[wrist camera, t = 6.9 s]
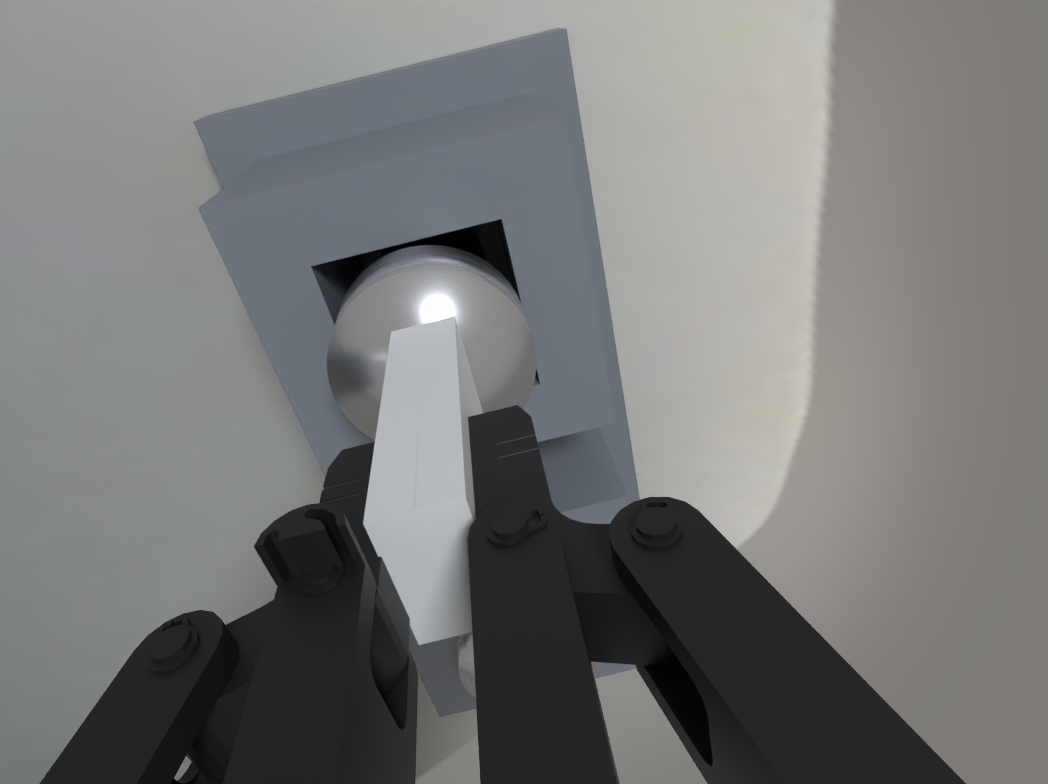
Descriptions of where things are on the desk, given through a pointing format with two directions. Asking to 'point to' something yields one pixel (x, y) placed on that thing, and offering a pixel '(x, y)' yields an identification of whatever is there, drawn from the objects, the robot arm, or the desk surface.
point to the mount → (423, 211)
